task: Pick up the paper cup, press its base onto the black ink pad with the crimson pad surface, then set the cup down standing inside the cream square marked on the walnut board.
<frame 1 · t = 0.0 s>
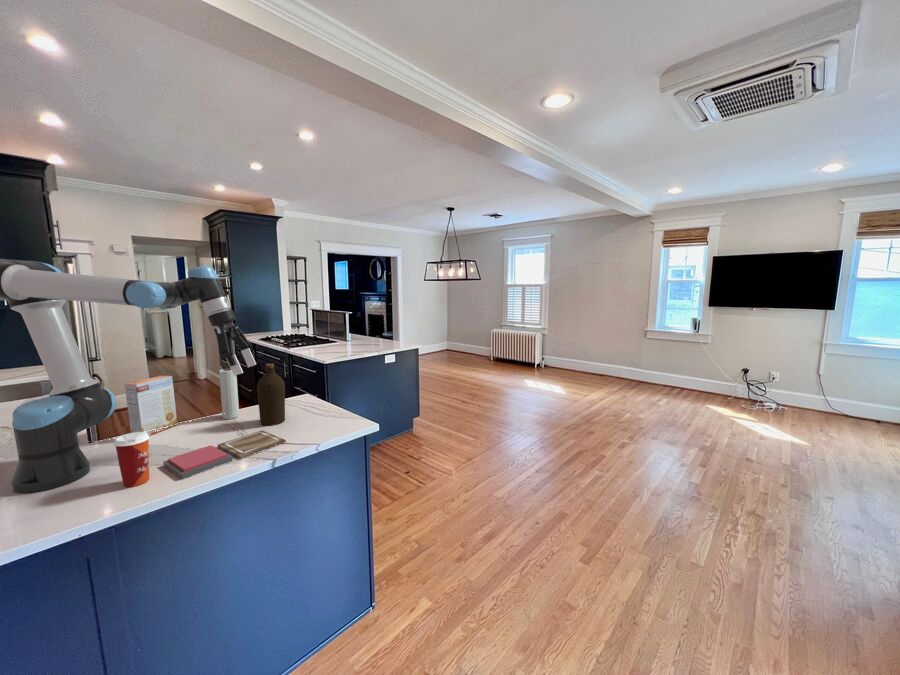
hand: (246, 369, 124), 28 cm above the counter, tool tilted 20°, fingers open, 13 cm apart
marked board: (252, 444, 128), on the counter
ink pad: (198, 463, 114), on the counter
paper towel roll: (232, 417, 156), on the counter
cracker box: (155, 431, 140), on the counter
olive oil: (273, 422, 151), on the counter
paper cup: (136, 482, 103), on the counter
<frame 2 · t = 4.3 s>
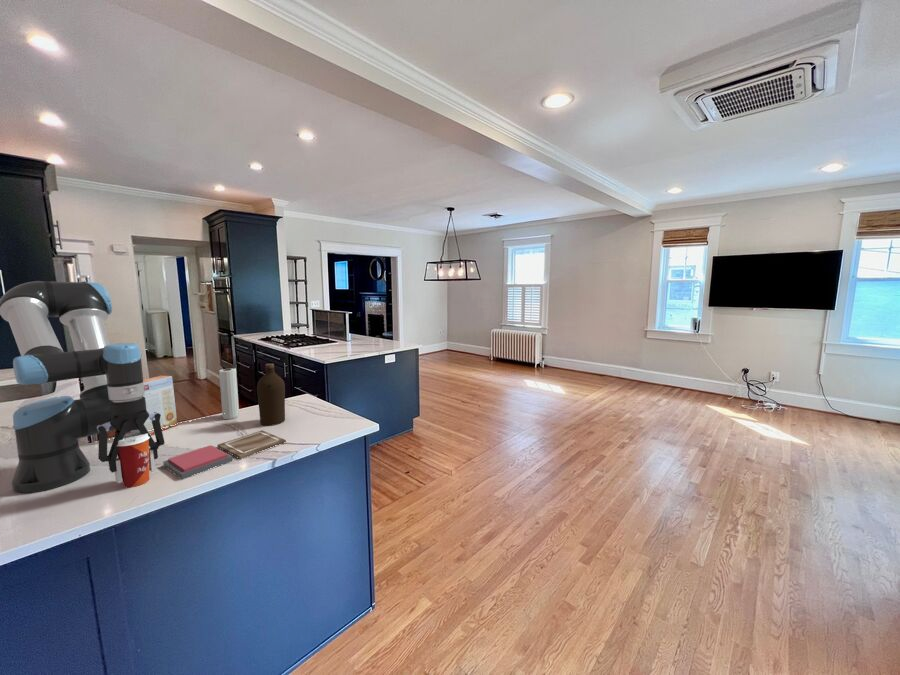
hand: (136, 475, 103), 2 cm above the counter, tool pointing down, fingers closed on paper cup, 7 cm apart
paper cup: (136, 482, 103), on the counter, touching gripper
everything else where it was.
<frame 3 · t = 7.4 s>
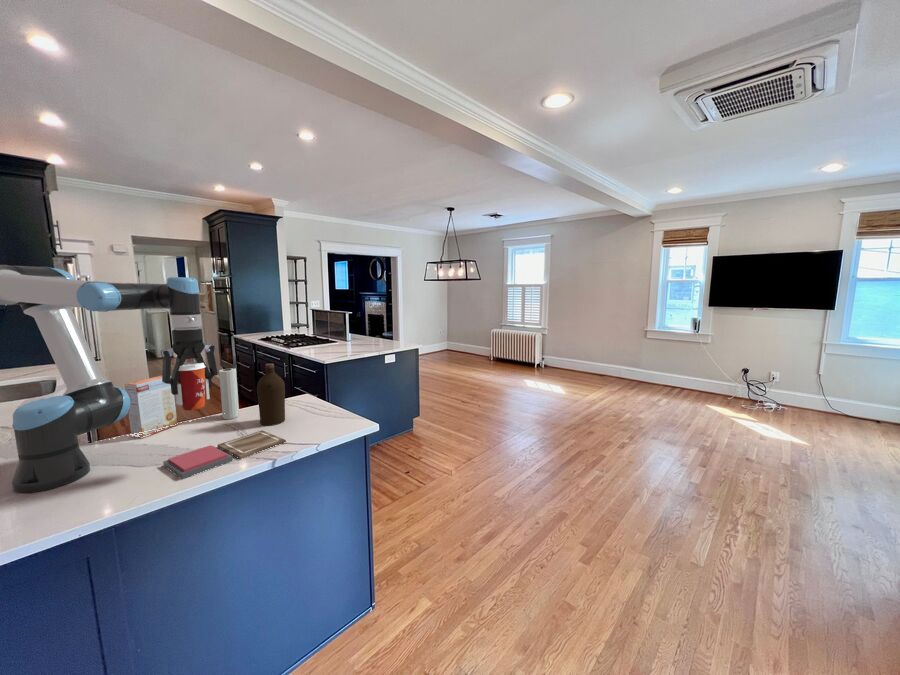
hand: (193, 401, 111), 21 cm above the counter, tool pointing down, fingers closed on paper cup, 7 cm apart
paper cup: (194, 408, 112), point 19 cm above the counter, touching gripper
everything else where it was.
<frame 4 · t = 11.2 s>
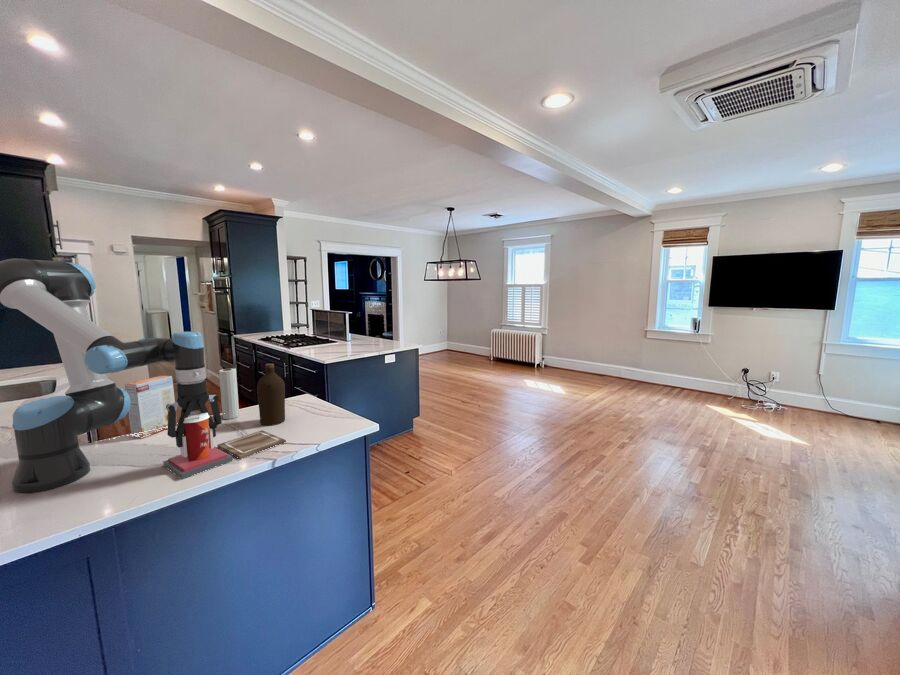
hand: (197, 451, 114), 4 cm above the counter, tool pointing down, fingers closed on paper cup, 7 cm apart
paper cup: (198, 457, 114), point 2 cm above the counter, touching gripper, ink pad
everything else where it was.
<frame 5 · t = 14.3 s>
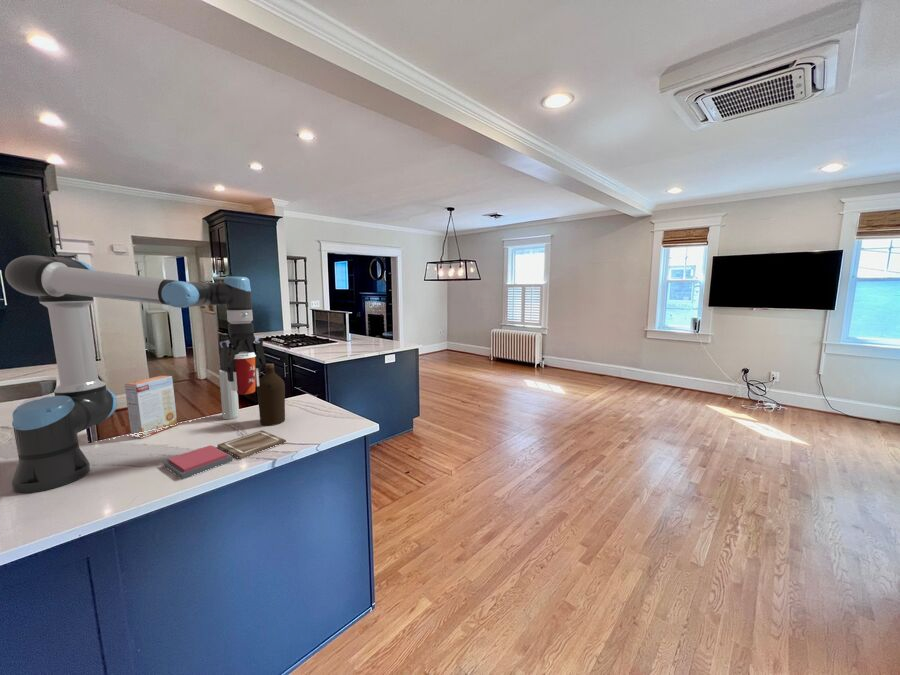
hand: (245, 387, 124), 21 cm above the counter, tool pointing down, fingers closed on paper cup, 7 cm apart
paper cup: (246, 392, 125), point 20 cm above the counter, touching gripper
everything else where it was.
when the fingers open (5 cm above the counter, at t = 17.1 s): paper cup stays where it is, resting on marked board.
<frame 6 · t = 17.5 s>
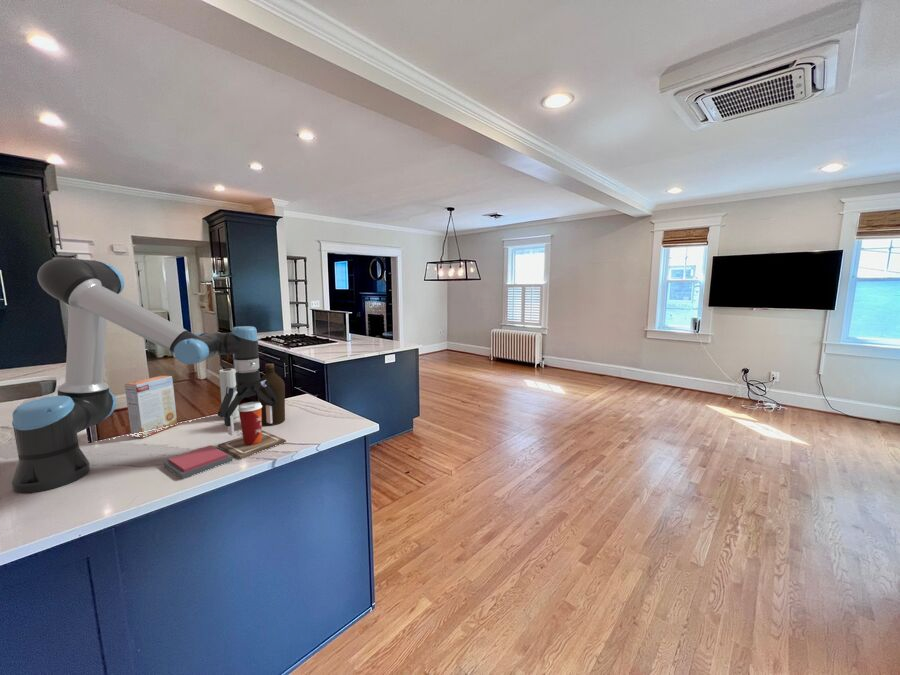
hand: (251, 428, 127), 6 cm above the counter, tool pointing down, fingers open, 13 cm apart
paper cup: (253, 442, 128), point 1 cm above the counter, touching marked board
everything else where it was.
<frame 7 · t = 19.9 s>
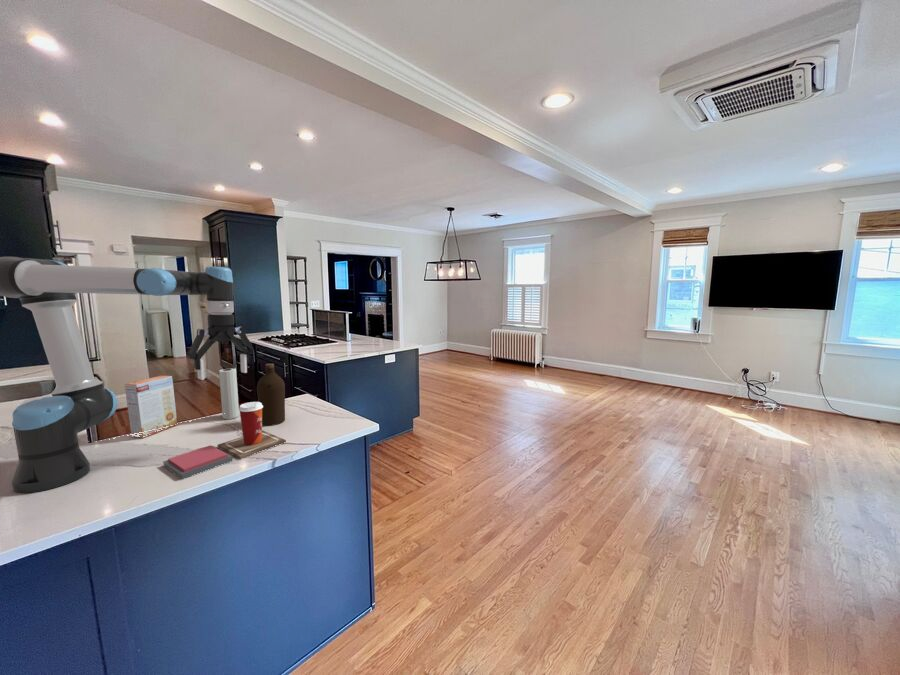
hand: (223, 375, 122), 26 cm above the counter, tool pointing down, fingers open, 13 cm apart
nothing on the counter moved.
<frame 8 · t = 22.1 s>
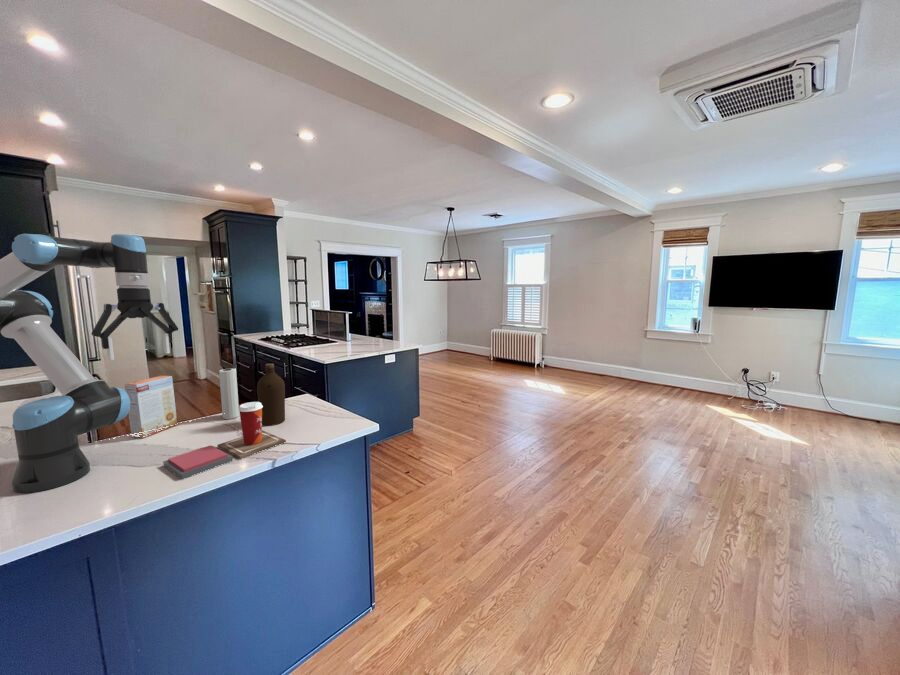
hand: (140, 356, 111), 35 cm above the counter, tool pointing down, fingers open, 13 cm apart
nothing on the counter moved.
at the end: paper cup inside the target area on the marked board (0.3 cm from its centre), point 0.8 cm above the marked board's base; paper cup tilted 0°; the gripper is holding nothing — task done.
